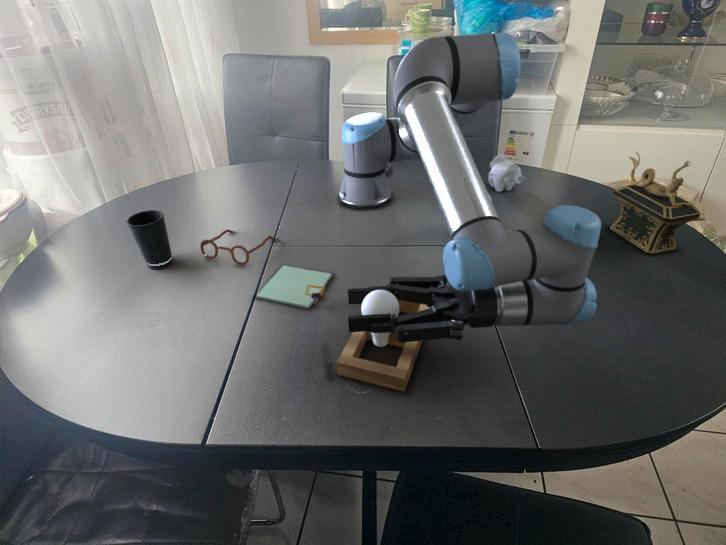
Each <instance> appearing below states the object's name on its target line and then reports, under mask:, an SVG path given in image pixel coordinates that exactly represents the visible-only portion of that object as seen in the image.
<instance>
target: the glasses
mask: <svg viewBox="0 0 726 545" xmlns="http://www.w3.org/2000/svg"><path fill="white" fill-rule="evenodd" d="M226 233H229V234H235V231H234V230H231V229H225V230H223V231H221V233H219V234H218V235H216V236H215V237H212V238H210V239H204V240H202V241H201V242H200V246H199V247H200V252H201V253H202V255H203V254H207V253H206V252H205V250H204V247H205V246H206V245H208V244H210V245H212V246H213V247H214V255H213V256H210V255H208V254H207V256H204V258H206V259H207V260H208V259H209V260H214V259H216V258H218V254H219V250H222V251H228V252H230V256H231V260H232V261H233V262H234V263H235V264H237V265H239V266H246V265H247V264H248V263H249V261H250V255H251V254H252V253H254V252H255V251H257V250H259V249H261V248H262V247H264V246H265V244H266V243H267V241H269V240H272V241H273V242H276V239H277V238H276V237H274V236H272V235H268V236H267V237H265V238H264V240H262V242H261V243H259V244H257V245H256V246H255V247H252V248H251V249H249V250H248V249H247V248H246V247H245V246H243V245H238V244H237V245H234V246H232V247H231V248H230V247H227V246H223V245H219V246H218V245H217V243H216V242H214V241H217V240H218V239H220V238H222V236H224V235H225V234H226ZM236 249H241V250H242V251H243V252H244V253H245V260H244V261H243V262H241V261H239V260H237V258H236V257H235V252H234V251H235V250H236Z"/></svg>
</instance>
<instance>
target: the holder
mask: <svg viewBox="0 0 726 545" xmlns="http://www.w3.org/2000/svg"><path fill="white" fill-rule="evenodd" d="M398 303H399V313H406V314H410V313H414V312H417V311H421V310H425V309H429V307H427V305H425V304H418V303H412V302H405V301H399V300H398ZM405 334H407V333H405ZM367 341H371V342H373V336H372V334H371V331H366V332H351V335H350V337H349V338H348V341H347V342H346V344H345V346H344V348H343V350H342V352H341V354H340V355H339V357H338V359H337V361H336V372H337V376H341V377H345V378H348V379H353V380H357V381H360V382H364V383H369V384H372V385H376V386H380V387H385V388H387V389H392V390H396V391H399V392H405V391H406V388H407V386H408V384H409V380H410V377H411V374H412V372H413V369H414V366H415V362H416V360H417V357H418V355H419V351H420V349H421V345H422V343H423V341H413V342H403V343H400V342H398V341H397V337H396V335H395V334H393V333H390V334H389V337H388V343H387V345H388V346H394V347H399V348H403V349H402V351H401V354H400V356H399V359H398V361H397V364H396V366H393V365H390V364H384V363H381V362H376V361H371V360H367V359H364V358H360V355H361V353H362V352H363V349H364V347H365V346H366V343H367Z"/></svg>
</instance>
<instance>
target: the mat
mask: <svg viewBox="0 0 726 545" xmlns="http://www.w3.org/2000/svg"><path fill="white" fill-rule="evenodd" d="M332 276H333V275H332V273H328V272H323V271H319V270H312V269H306V268H301V267H296V266H291V265H290V266H289V265H285V264H283V265H282V266H281V267H280V268H279V269H278V271H276V273H275V274H274V275H273V276H272V278H271V279H269V281H268V282H267V283H265V285H264V287H262V289H261V290H259V291H258V293H257V294H256V298H257V299H261V300H265V301H266V300H267V301H271V302H276V303H281V304H285V305H288V306H289V305H290V306H295V307H299V308H305V309H310V307H312V305H313V304H314V303H313V299H312V298H311V295H305V292H306V294H308V293H307V291H306V288H307V285H315V286H323V289H324V287H326V285H327V283H328V282H329V281H330V279H331V278H332ZM308 287H309V286H308ZM309 289H310V291H309ZM309 289H308V288H307V290H308V292H309V293H315V294H316V293H320V294H321V292H320V290H321V291H323V290H322V289H320V288H311V287H309Z"/></svg>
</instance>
